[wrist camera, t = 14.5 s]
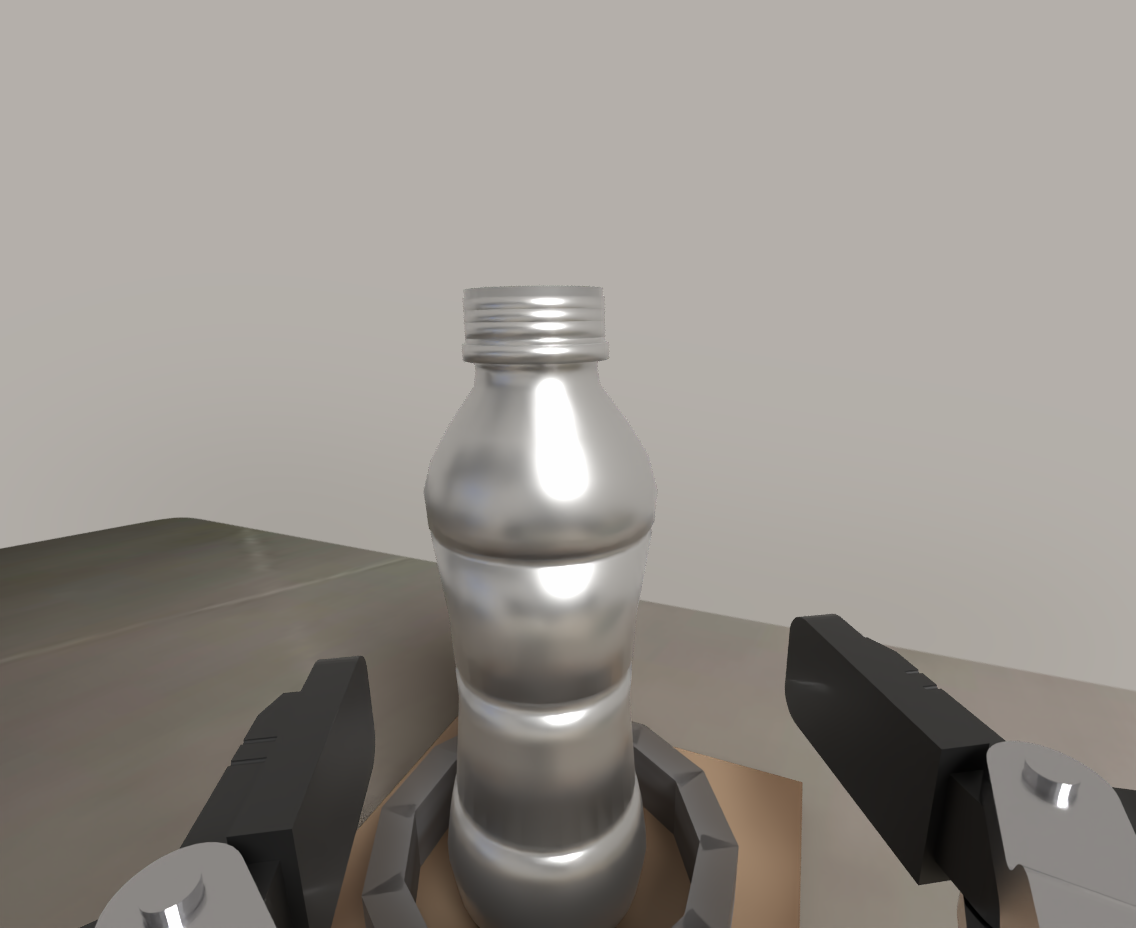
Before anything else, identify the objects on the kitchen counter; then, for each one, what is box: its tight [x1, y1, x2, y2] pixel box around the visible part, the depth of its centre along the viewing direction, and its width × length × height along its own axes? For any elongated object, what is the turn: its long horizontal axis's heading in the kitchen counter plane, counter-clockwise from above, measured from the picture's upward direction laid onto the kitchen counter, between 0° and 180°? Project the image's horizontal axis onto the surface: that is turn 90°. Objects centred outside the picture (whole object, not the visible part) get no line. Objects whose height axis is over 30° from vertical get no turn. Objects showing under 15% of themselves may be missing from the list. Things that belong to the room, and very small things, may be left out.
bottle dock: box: [331, 716, 802, 928], centre depth 20 cm, size 16×16×4 cm
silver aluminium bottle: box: [424, 286, 657, 928], centre depth 17 cm, size 6×7×20 cm
